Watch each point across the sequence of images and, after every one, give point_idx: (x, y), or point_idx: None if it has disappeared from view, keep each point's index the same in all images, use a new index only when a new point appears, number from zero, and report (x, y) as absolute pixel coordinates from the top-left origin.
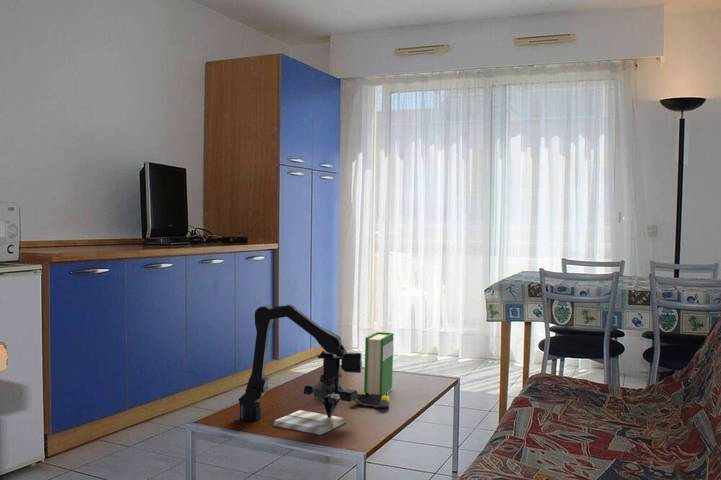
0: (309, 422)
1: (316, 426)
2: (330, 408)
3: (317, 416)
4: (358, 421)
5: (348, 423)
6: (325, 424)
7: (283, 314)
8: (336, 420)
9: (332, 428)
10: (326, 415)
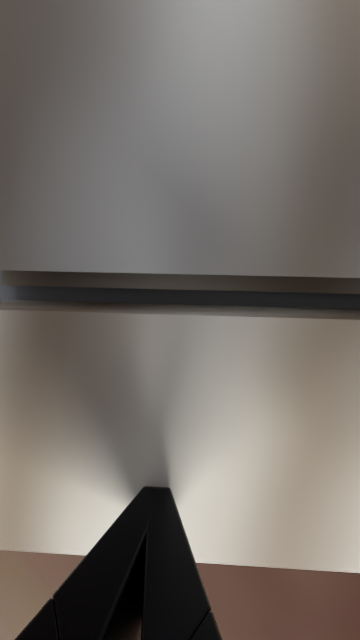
0: (277, 153)
1: (64, 9)
2: (69, 608)
3: (312, 461)
4: (21, 630)
5: (52, 555)
6: (23, 201)
7: None
8: (10, 429)
9: (24, 301)
10: (229, 544)
